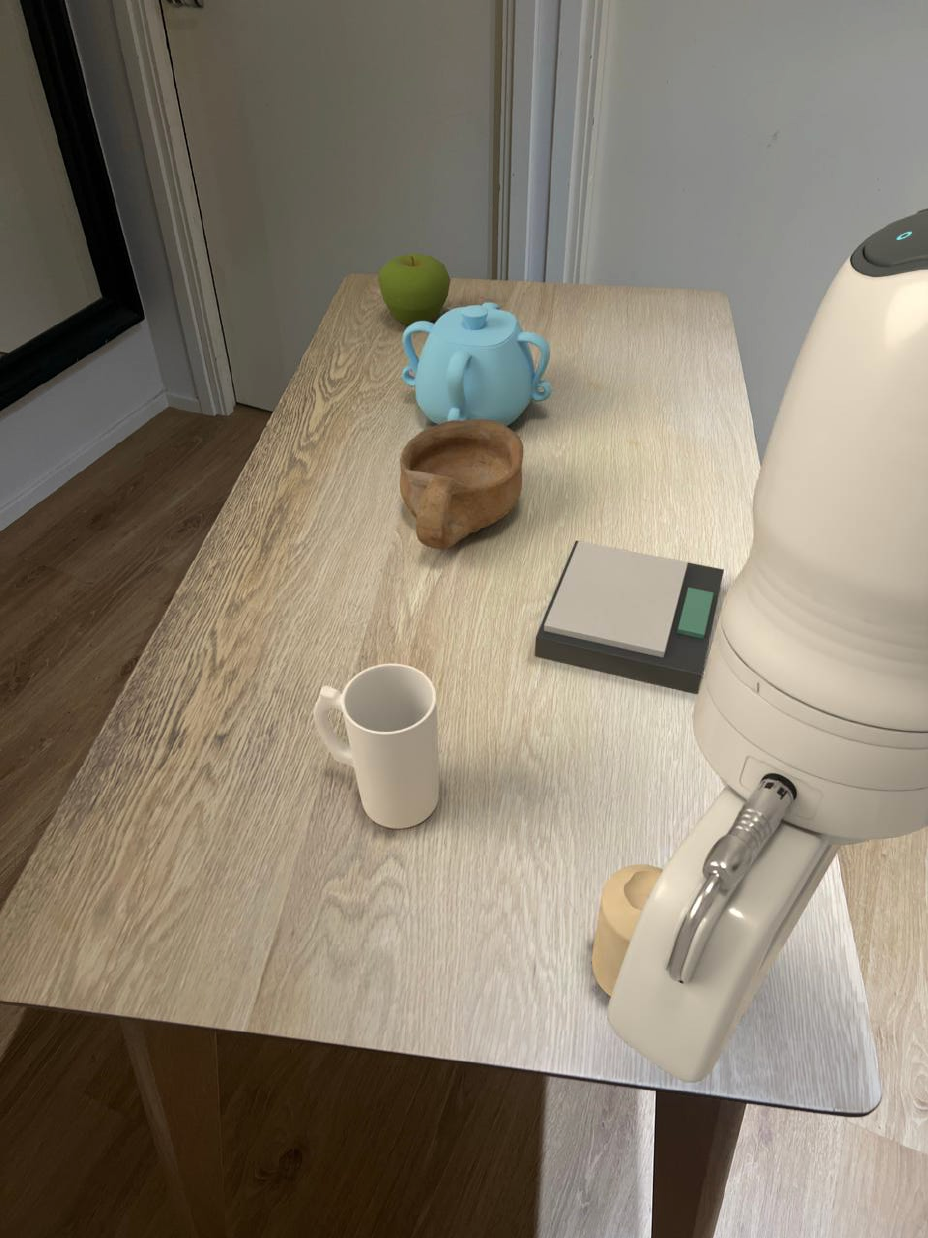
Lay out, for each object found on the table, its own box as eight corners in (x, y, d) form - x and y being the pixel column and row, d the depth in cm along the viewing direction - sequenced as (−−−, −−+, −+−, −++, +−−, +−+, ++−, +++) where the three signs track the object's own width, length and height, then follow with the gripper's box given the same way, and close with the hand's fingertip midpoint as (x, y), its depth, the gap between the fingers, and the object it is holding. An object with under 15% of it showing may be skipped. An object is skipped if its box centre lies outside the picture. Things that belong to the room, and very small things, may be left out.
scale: (719, 588, 89) (725, 562, 87) (697, 694, 79) (703, 668, 76) (574, 558, 93) (576, 533, 91) (534, 656, 83) (535, 630, 80)
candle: (672, 1012, 58) (697, 940, 52) (588, 1000, 59) (602, 927, 52) (671, 934, 62) (694, 857, 56) (593, 924, 63) (605, 846, 56)
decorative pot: (560, 427, 112) (567, 324, 102) (442, 456, 107) (438, 351, 98) (506, 371, 123) (508, 273, 113) (396, 394, 118) (389, 295, 109)
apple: (441, 340, 130) (438, 273, 123) (372, 334, 132) (366, 267, 125) (458, 309, 137) (457, 244, 130) (393, 303, 139) (388, 239, 132)
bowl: (537, 564, 90) (511, 485, 83) (407, 589, 93) (373, 515, 87) (537, 464, 103) (515, 389, 96) (423, 490, 106) (394, 419, 100)
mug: (455, 776, 73) (450, 677, 64) (422, 843, 68) (413, 745, 60) (345, 743, 75) (328, 643, 67) (307, 805, 71) (283, 706, 63)
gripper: (811, 966, 22) (694, 1212, 30) (991, 626, 36) (879, 855, 44) (596, 837, 25) (540, 1091, 33) (838, 569, 39) (758, 793, 47)
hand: (735, 954), depth 38 cm, fingers open, 8 cm apart
